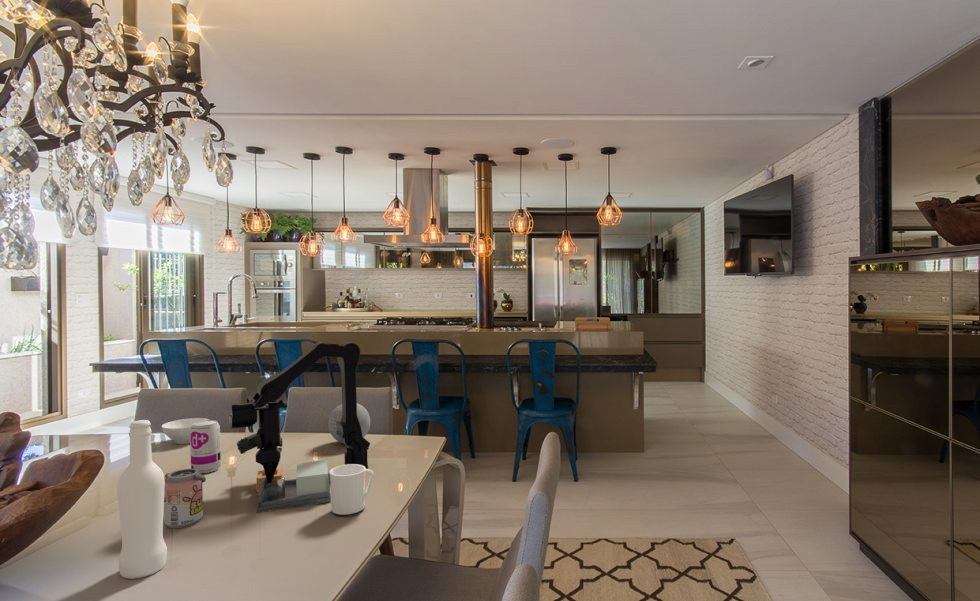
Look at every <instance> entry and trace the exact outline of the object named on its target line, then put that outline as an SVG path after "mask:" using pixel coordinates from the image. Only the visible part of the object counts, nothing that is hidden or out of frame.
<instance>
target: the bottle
mask: <svg viewBox="0 0 980 601" xmlns="http://www.w3.org/2000/svg"><path fill="white" fill-rule="evenodd" d="M151 425H152V424H151V421H150V420H148V419H140V420H135V421H132V422H131V423H130V424H129V429H130V430H129V432H128V437H129V464H128V466H127V467H126V468H125V469H124V470H123V472H122V473H121V474H120V476H119V479H118V482H117V486H116V487H117V490H116V492H117V501H118V511H119V512H118V513H119V522H120V524H119V525H120V530H121V531H120V533H121V551H120V552H119V555H118V556H119V557H118V560H117V561H118V570H119V574H120V576H121V577H122V578H124V579H129V580H131V579H132V580H133V579H134V580H135V579H142V578H145V577H149V576H151V575H154V574H156V573H157V572H159V571H160V570H162V569H163V568H164V566H165V564H166V562H167V558H168V548H167V544H166V542H165V540H164V536H163V535H164V534H163V532H164V531H163V527H164V488H165V483H166V482H165V480H166V478H165V474H164V472H163V470H162V468H160V467H159V466H158V464H156V463H155V462H154V461H153V452H152V437H151V436H152V429H151Z"/></svg>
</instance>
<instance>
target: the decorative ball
mask: <svg viewBox="0 0 980 601" xmlns="http://www.w3.org/2000/svg"><path fill="white" fill-rule="evenodd" d="M357 417H358V420H359V423H360V425H361V430H362V435H363V436H362V437H363V438H365V437H366V435H367V434H368V432H369V430H370V428H371V427H370V426H371V417H370V414H369V411H368V410H367V409H366V407H364V406H363V405H362V404H360V403H357ZM341 418H342V403H341V404H339V405H337V406H336V407H335V408H333V410H331V413H330V414H329V418H328V424H327V425H328V426H327V427H328V430H329V433H330V435H331V437H332V438H333V439H334V440H336V441H337V442H339V443H341V444H344V442H342V441H341V440H340V439H339V437H338V435H337V434H336V432H337V426H336V422H337V421H341Z"/></svg>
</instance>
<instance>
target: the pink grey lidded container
mask: <svg viewBox="0 0 980 601" xmlns="http://www.w3.org/2000/svg"><path fill="white" fill-rule="evenodd" d="M164 478H165V480H166V482H165V488H164V510H163V524H164V525H165V526H166V527H167V528H170V529H182V528H186V527H187V528H188V527H190V526H193V525H195V524H197V523H198V522H200V520H202V518H203V515H204V505H203V504H204V502H203V498H204V497H203V496H204V494H203V483H205V482H206V481H207V479H206V478H207V477H206V476H205V475H204V476H203V474H200V473H199V471H198V470H197V469H191V468H184V469H183V468H182V469H178V470H173V471H171V472H166V473H165V474H164Z"/></svg>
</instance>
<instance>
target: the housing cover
mask: <svg viewBox="0 0 980 601" xmlns="http://www.w3.org/2000/svg"><path fill="white" fill-rule="evenodd" d="M328 478H329V468H328V460H327V459H326V460H325V459H323V460H319V461H316V460H315V461H308V462H299V463H298V462H297V463H296V476H295V479H296V490H297V496H303V495H310V494H318V493H325V492H328Z"/></svg>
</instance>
